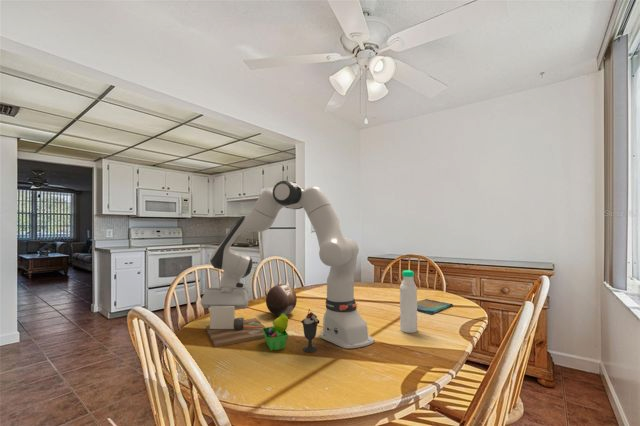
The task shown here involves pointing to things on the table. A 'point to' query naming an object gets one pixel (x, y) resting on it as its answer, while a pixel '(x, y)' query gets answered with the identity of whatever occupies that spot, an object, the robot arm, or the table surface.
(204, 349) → the table surface
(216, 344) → the wooden board
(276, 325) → the fruit basket
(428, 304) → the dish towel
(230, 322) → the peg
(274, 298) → the wooden sphere
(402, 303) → the water bottle
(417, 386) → the table surface
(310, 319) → the sundae
